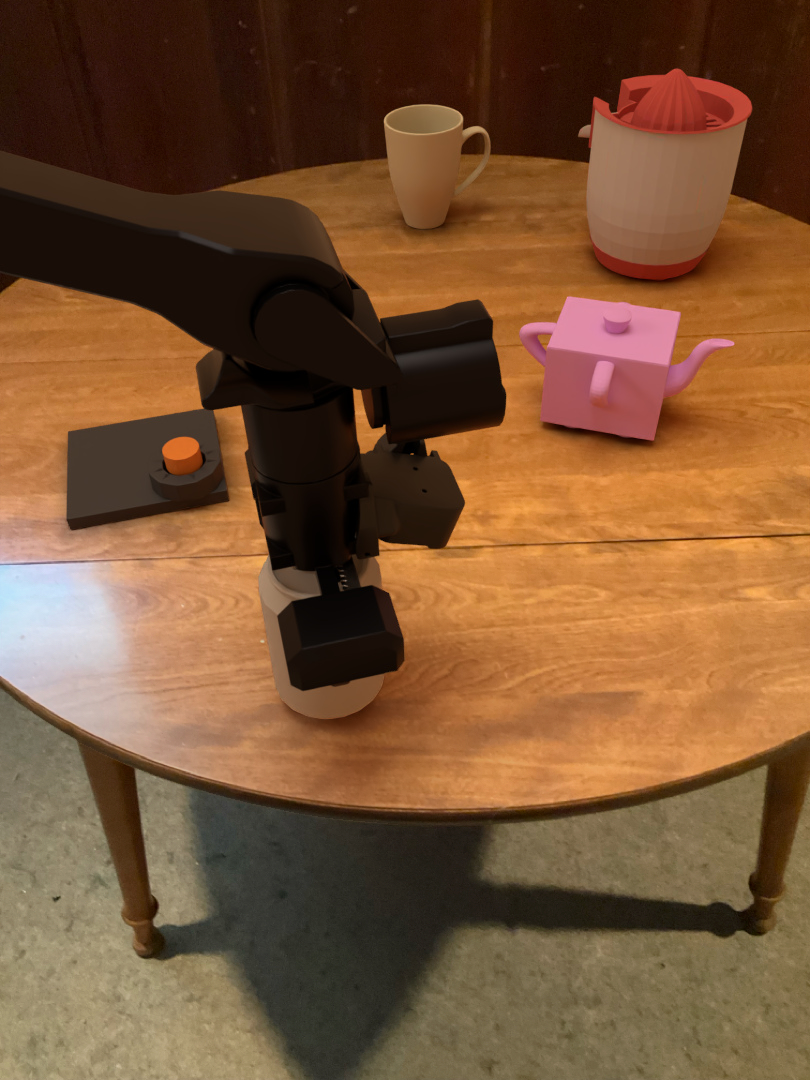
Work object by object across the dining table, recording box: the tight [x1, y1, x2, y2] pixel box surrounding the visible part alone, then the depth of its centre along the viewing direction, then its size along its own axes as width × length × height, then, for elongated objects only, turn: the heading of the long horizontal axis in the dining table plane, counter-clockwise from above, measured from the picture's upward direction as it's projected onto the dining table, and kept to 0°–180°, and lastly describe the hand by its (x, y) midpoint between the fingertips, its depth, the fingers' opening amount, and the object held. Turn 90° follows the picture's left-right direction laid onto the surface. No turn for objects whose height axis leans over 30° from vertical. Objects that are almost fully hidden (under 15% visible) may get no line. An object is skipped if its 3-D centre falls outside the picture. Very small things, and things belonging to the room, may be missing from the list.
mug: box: [383, 104, 492, 230], centre depth 109 cm, size 11×10×12 cm
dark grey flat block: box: [65, 407, 230, 530], centre depth 79 cm, size 13×12×3 cm
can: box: [257, 553, 386, 720], centre depth 59 cm, size 8×8×12 cm
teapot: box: [518, 296, 735, 442], centre depth 81 cm, size 18×14×10 cm
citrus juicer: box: [577, 68, 753, 281], centre depth 98 cm, size 16×17×20 cm
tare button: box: [162, 437, 203, 476], centre depth 76 cm, size 3×3×2 cm
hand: (329, 637), depth 60 cm, fingers closed on can, 7 cm apart
